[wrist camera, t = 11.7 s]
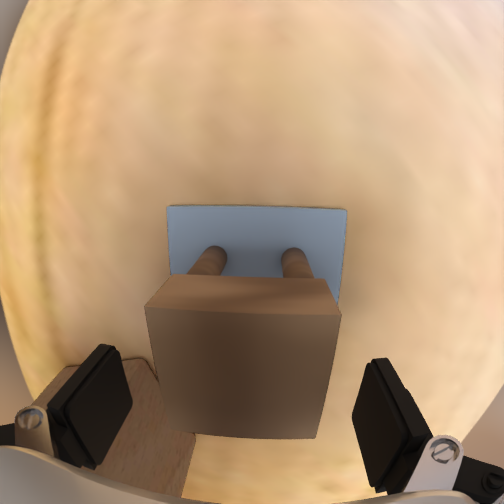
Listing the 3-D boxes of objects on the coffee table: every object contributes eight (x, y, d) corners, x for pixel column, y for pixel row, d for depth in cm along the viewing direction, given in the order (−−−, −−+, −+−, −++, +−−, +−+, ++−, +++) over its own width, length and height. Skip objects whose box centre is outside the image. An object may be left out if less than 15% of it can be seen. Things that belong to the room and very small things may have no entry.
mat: (326, 357, 18) (328, 362, 18) (182, 351, 19) (179, 356, 18) (344, 209, 16) (347, 210, 15) (170, 205, 16) (166, 206, 16)
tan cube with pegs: (308, 246, 16) (341, 314, 8) (300, 339, 17) (315, 438, 10) (200, 243, 16) (144, 306, 8) (206, 335, 18) (170, 429, 10)
